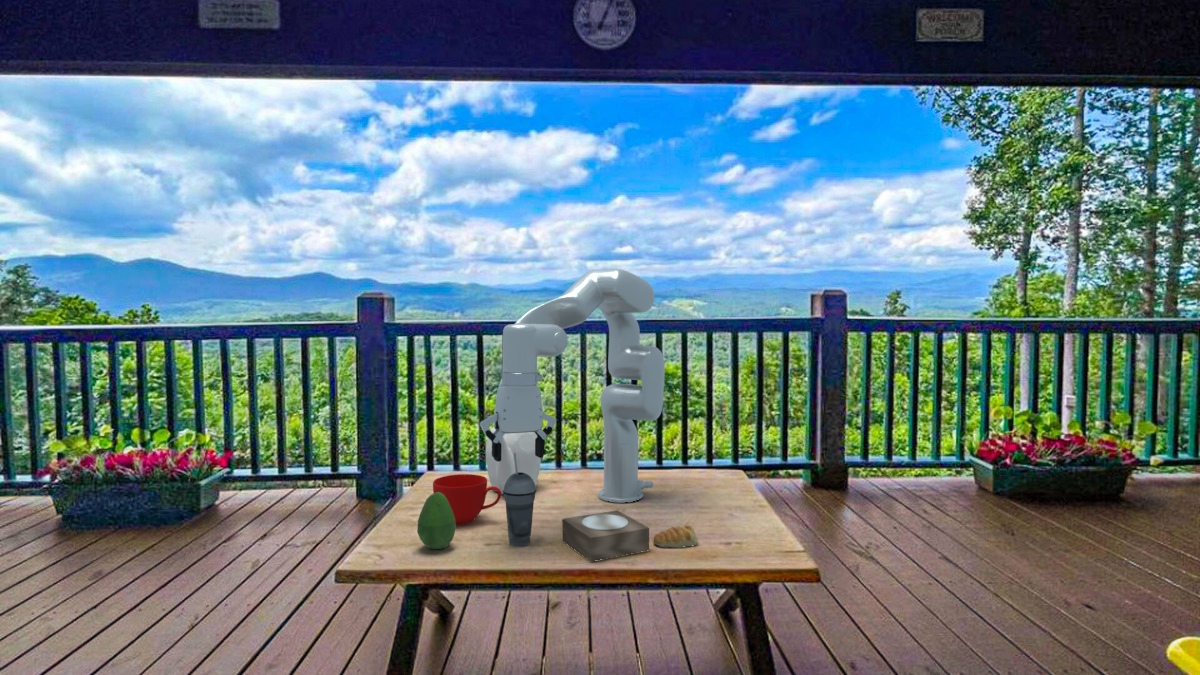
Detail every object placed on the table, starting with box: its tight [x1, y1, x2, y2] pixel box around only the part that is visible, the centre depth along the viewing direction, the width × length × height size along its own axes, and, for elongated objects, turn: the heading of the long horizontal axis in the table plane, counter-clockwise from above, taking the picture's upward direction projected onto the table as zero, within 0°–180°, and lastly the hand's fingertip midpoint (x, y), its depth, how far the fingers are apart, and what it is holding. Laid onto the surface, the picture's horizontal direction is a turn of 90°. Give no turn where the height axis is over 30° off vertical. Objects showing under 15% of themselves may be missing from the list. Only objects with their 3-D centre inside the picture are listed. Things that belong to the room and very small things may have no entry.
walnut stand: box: [561, 509, 650, 562], centre depth 137 cm, size 14×14×5 cm
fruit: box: [416, 492, 457, 550], centre depth 135 cm, size 8×8×12 cm
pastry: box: [652, 524, 698, 548], centre depth 139 cm, size 9×7×4 cm
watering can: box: [485, 426, 542, 495], centre depth 181 cm, size 16×27×19 cm, turn 172°
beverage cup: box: [503, 453, 537, 548], centre depth 138 cm, size 7×7×20 cm
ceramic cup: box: [432, 473, 502, 526], centre depth 153 cm, size 13×17×10 cm
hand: (518, 458), depth 138 cm, fingers open, 9 cm apart
